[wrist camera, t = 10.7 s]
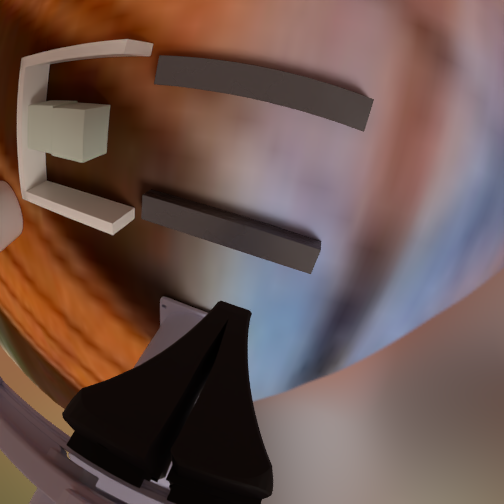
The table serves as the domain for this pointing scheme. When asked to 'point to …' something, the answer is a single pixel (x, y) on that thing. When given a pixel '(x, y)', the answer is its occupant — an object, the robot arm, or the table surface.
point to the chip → (42, 124)
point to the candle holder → (9, 216)
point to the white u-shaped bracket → (34, 162)
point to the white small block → (80, 131)
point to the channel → (269, 90)
